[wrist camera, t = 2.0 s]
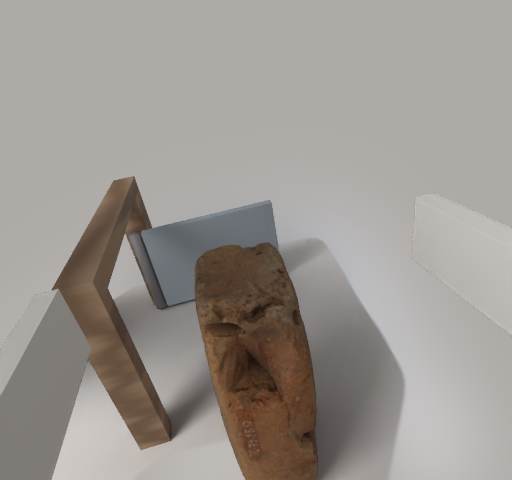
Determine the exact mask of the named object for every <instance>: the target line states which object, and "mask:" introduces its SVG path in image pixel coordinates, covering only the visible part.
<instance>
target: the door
mask: <svg viewBox="0 0 512 480" xmlns="http://www.w3.org/2000/svg"><path fill="white" fill-rule="evenodd" d="M141 235H142V236H141ZM129 238H130V241H131V243H132V246H133V248H134V251H135V253H136V256H137V258H138V261H139V264H140V266H141V269H142V271H143V274H144V276H145V279H146V281H147V284H148V286H149V289H150V291H151V294H152V296H153V299H154V301H155V304H156V306H157V308H158V309H162V308H164V307H166V305H168V306H170V305H174V304H178V303H182V302H185V301H189V300H193V299H195V291H194V286H195V265H196V261H197V259H198V258H199V257H200V256H201V255H202V254H203V253H204V252H205V251H208V250H212V249H215V248H218V247H220V246H226V245H240V246H241V248H245V247H254V246H256V245H257V244H259V243H265V242H268V243H270V244H271V245H273V246H274V247H275V248H277V250H278V252H279V248H278V241H277V235H276V229H275V222H274V216H273V209H272V203H271V201H270V200H268V201H264V202H259V203H255V204H251V205H247V206H243V207H239V208H235V209H231V210H226V211H222V212H218V213H214V214H210V215H206V216H201V217H197V218H193V219H189V220H185V221H180V222H176V223H172V224H168V225H164V226H160V227H156V228H151V229H147V230H143V231H142V233H141V234H140V232H133V233H131V234H129ZM142 238H143V239H142ZM143 241H144V242H143ZM144 243H145V244H144ZM145 246H146V247H145ZM146 249H147V250H146ZM147 251H148V252H147ZM148 254H149V255H148ZM149 257H150V258H149ZM150 259H151V260H150ZM151 262H152V263H151ZM152 265H153V266H152ZM153 267H154V268H153ZM154 270H155V271H154ZM155 273H156V274H155ZM156 275H157V276H156ZM157 278H158V279H157ZM158 281H159V282H158ZM159 283H160V284H159ZM160 286H161V287H160ZM161 289H162V290H161ZM162 291H163V292H162ZM163 294H164V295H163ZM164 297H165V298H164ZM165 299H166V300H165ZM166 302H167V303H166Z"/></svg>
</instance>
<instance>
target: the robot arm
mask: <svg viewBox="0 0 512 480" xmlns="http://www.w3.org/2000/svg"><path fill="white" fill-rule="evenodd" d="M412 259H413V260H415V261H416V262H417V263H418V264H419V265H421V266H422V267H423V268H424V269H426V270H427V271H429V272H430V273H431V274H433V275H434V276H435V277H436V278H437V279H439V280H440V281H441V282H443V283H444V284H445V285H446V286H448V287H449V288H450V289H452V290H453V291H454V292H455V293H457V294H458V295H459V296H461V297H462V298H463V299H465V300H466V301H467V302H468V303H470V304H471V305H472V306H474V307H475V308H476V309H477V310H479V311H480V312H481V313H483V314H484V315H485V316H487V317H488V318H489V319H490V320H492V321H493V322H494V323H496V324H497V325H498V326H499V327H501V328H502V329H503V330H504V331H506V332H507V333H508V334H510V335H511V336H512V228H510V227H508V226H506V225H504V224H501V223H499V222H497V221H495V220H493V219H491V218H488V217H486V216H484V215H482V214H480V213H477V212H475V211H473V210H471V209H469V208H466V207H464V206H462V205H460V204H458V203H455V202H453V201H451V200H449V199H447V198H444V197H442V196H440V195H438V194H436V193H431V194H427V195H423V196H419V197H416V199H415V214H414V230H413V246H412ZM90 351H91V346H90V344H89V342H88V341H87V339H86V337H85V335H84V333H83V332H82V330H81V328H80V326H79V325H78V323H77V321H76V319H75V317H74V316H73V314H72V312H71V310H70V308H69V307H68V305H67V303H66V301H65V300H64V298H63V296H62V294H61V292H60V291H59V289H56V290H52V291H48V292H44V293H40V294H36V295H35V296H34V297H33V298H32V300H31V302H30V303H29V305H28V306H27V308H26V310H25V311H24V313H23V314H22V316H21V318H20V319H19V320H18V322H17V324H16V325H15V327H14V328H13V330H12V332H11V333H10V335H9V337H8V338H7V339H6V341H5V342H4V344H3V346H2V347H1V349H0V480H51V479H52V476H53V473H54V469H55V466H56V463H57V460H58V456H59V453H60V450H61V446H62V443H63V440H64V437H65V433H66V430H67V427H68V423H69V420H70V417H71V414H72V410H73V407H74V404H75V400H76V397H77V394H78V391H79V387H80V384H81V381H82V377H83V374H84V371H85V368H86V364H87V361H88V358H89V354H90Z"/></svg>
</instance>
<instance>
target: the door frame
mask: <svg viewBox="0 0 512 480" xmlns="http://www.w3.org/2000/svg"><path fill="white" fill-rule="evenodd" d="M151 228H152V226H151V223H150V220H149V217H148V214H147V211H146V209H145V206H144V203H143V200H142V197H141V194H140V192H139V189H138V186H137V183H136V180H135V177H134V176H133V177H128V178H124V179H119V180H115V181H113V183H112V184H111V186H110V188H109V190H108V191H107V194H106V195H105V197H104V198H103V200H102V202H101V204H100V205H99V208H98V209H97V211H96V213H95V215H94V216H93V218H92V220H91V222H90V223H89V225H88V227H87V228H86V230H85V232H84V234H83V235H82V237H81V239H80V241H79V243H78V244H77V246H76V248H75V250H74V251H73V253H72V255H71V257H70V258H69V260H68V262H67V264H66V266H65V267H64V269H63V271H62V272H61V274H60V276H59V278H58V280H57V281H56V283H55V285H54V287H53V288H52V290H56V289H59V291H60V292H61V294H62V296H63V298H64V300H65V301H66V303H67V305H68V307H69V308H70V310H71V312H72V314H73V316H74V317H75V319H76V321H77V323H78V325H79V326H80V328H81V330H82V332H83V333H84V335H85V337H86V339H87V341H88V342H89V344H90V346H91V351H90V354H89V358H88V359H89V361H90V363H91V364H92V366H93V368H94V370H95V371H96V373H97V375H98V377H99V378H100V380H101V382H102V383H103V385H104V387H105V389H106V390H107V392H108V394H109V396H110V397H111V399H112V401H113V402H114V404H115V406H116V408H117V409H118V411H119V413H120V415H121V416H122V418H123V420H124V421H125V423H126V425H127V427H128V428H129V430H130V432H131V434H132V435H133V437H134V439H135V440H136V442H137V444H138V446H139V447H140V449H141V450H142V449H145V448H149V447H152V446H155V445H158V444H161V443H165V442H168V441H171V422H170V420H169V418H168V416H167V413H166V411H165V409H164V407H163V405H162V403H161V401H160V399H159V396H158V394H157V392H156V390H155V388H154V386H153V384H152V382H151V379H150V377H149V375H148V373H147V371H146V369H145V367H144V365H143V363H142V360H141V358H140V356H139V354H138V352H137V350H136V348H135V346H134V343H133V341H132V339H131V337H130V335H129V333H128V331H127V329H126V326H125V324H124V322H123V320H122V318H121V316H120V314H119V312H118V309H117V307H116V305H115V303H114V301H113V299H112V297H111V295H110V293H109V290H108V285H109V282H110V279H111V276H112V272H113V269H114V266H115V263H116V260H117V256H118V253H119V250H120V246H121V244H122V240H123V237H124V234H126V236H127V239H128V241H129V243H130V246H131V249H132V251H133V253H134V256H135V259H136V261H137V263H138V266H139V268H140V271H141V274H142V276H143V278H144V281H145V284H146V286H147V289H148V291H149V294H150V296H151V299H152V301H153V304H154V305H155V301H154V299H153V296H152V294H151V291H150V289H149V286H148V284H147V281H146V279H145V276H144V274H143V271H142V269H141V266H140V264H139V261H138V258H137V256H136V253H135V251H134V248H133V246H132V243H131V241H130V238H129V234H131V233H133V232H140V234H141V233H142V231H143V230H147V229H151ZM141 236H142V235H141ZM142 239H143V238H142ZM143 242H144V241H143ZM144 244H145V243H144ZM145 247H146V246H145ZM146 250H147V249H146ZM147 252H148V251H147ZM148 255H149V254H148ZM149 258H150V257H149ZM150 260H151V259H150ZM151 263H152V262H151ZM152 266H153V265H152ZM153 268H154V267H153ZM154 271H155V270H154ZM155 274H156V273H155ZM156 276H157V275H156ZM157 279H158V278H157ZM158 282H159V281H158ZM159 284H160V283H159ZM160 287H161V286H160ZM52 290H51V291H52ZM161 290H162V289H161ZM162 292H163V291H162ZM163 295H164V294H163ZM164 298H165V297H164ZM165 300H166V299H165Z"/></svg>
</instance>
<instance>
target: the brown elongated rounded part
mask: <svg viewBox="0 0 512 480" xmlns="http://www.w3.org/2000/svg"><path fill="white" fill-rule="evenodd" d="M194 291H195V300H196V309H197V315H198V320H199V324H200V329H201V333H202V337H203V342H204V344H205V352H206V357H207V361H208V365H209V370H210V374H211V379H212V382H213V386H214V390H215V394H216V397H217V401H218V404H219V407H220V412H221V416H222V419H223V422H224V425H225V428H226V431H227V434H228V437H229V440H230V443H231V445H232V448H233V451H234V454H235V457H236V459H237V462H238V464H239V466H240V469H241V471H242V473H243V476H244V477H245V479H246V480H316V477H317V470H318V464H317V463H318V461H317V449H316V438H315V435H316V434H315V427H316V393H315V383H314V376H313V368H312V362H311V356H310V350H309V345H308V340H307V335H306V331H305V327H304V323H303V321H302V318H301V315H300V311H299V305H298V299H297V296H296V292H295V289H294V287H293V284H292V281H291V279H290V277H289V275H288V273H287V271H286V268H285V265H284V262H283V259H282V257H281V255H280V254H279V252H278V250H277V248H275V247H274V246H273V245H271V244H270V243H268V242H265V243H259V244H257V245H256V246H254V247H245V248H241V246H240V245H226V246H220V247H218V248H215V249H212V250H208V251H205V252H204V253H203V254H202V255H201V256H200V257H199V258H198V259H197V261H196V265H195V286H194Z"/></svg>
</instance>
